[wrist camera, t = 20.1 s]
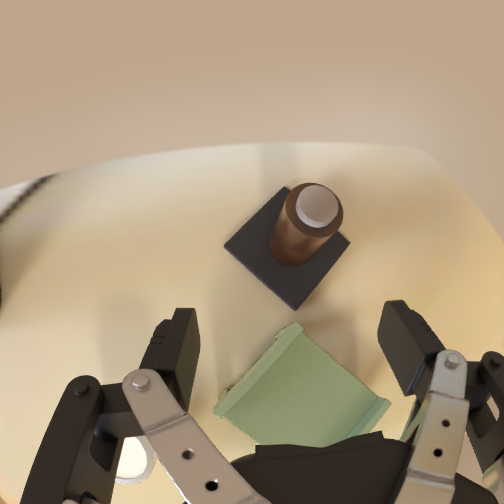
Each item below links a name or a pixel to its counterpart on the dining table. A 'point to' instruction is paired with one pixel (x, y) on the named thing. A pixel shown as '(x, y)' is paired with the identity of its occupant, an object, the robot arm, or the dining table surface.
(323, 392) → the tray
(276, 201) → the mat
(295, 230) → the brown bottle
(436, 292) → the dining table surface
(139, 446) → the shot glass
